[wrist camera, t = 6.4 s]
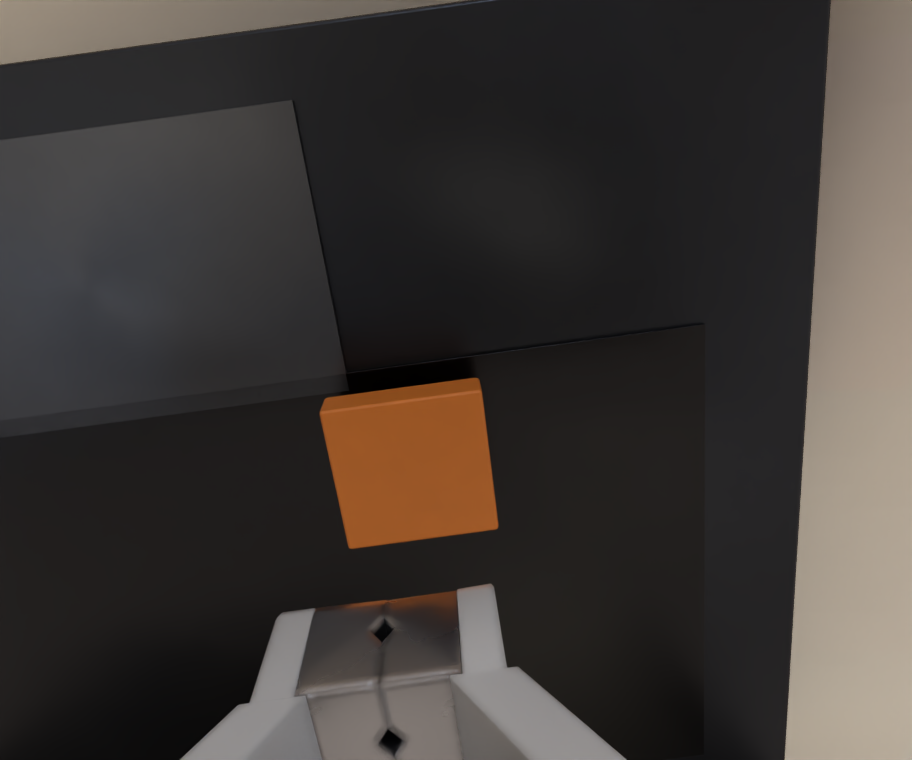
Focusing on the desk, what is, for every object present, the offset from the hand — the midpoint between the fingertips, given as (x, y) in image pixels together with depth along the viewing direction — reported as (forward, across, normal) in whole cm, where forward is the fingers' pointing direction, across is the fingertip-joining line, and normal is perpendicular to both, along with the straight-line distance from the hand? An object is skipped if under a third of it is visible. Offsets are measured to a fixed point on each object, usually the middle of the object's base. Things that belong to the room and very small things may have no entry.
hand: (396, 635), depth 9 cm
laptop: (+8, +6, +2) cm, 10 cm away
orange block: (+6, 0, 0) cm, 6 cm away
